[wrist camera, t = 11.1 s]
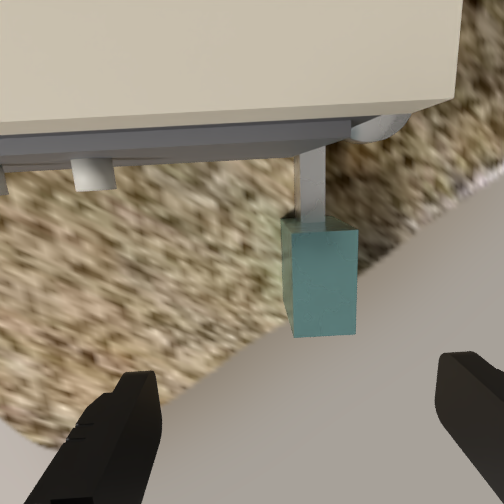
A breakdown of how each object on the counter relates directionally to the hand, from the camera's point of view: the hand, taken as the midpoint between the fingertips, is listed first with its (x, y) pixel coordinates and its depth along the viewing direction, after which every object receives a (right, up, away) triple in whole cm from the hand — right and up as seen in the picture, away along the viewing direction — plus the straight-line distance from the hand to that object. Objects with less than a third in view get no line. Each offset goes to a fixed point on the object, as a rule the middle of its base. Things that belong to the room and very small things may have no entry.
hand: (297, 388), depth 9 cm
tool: (+2, +8, +13) cm, 15 cm away
